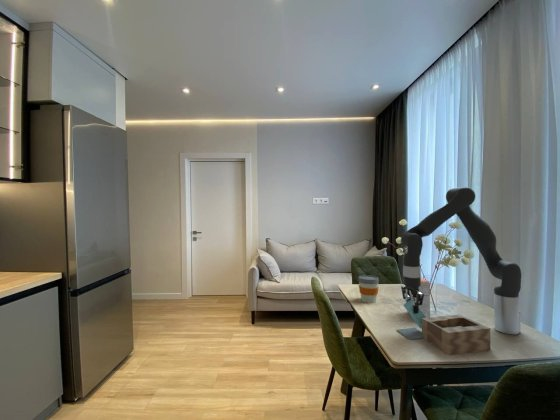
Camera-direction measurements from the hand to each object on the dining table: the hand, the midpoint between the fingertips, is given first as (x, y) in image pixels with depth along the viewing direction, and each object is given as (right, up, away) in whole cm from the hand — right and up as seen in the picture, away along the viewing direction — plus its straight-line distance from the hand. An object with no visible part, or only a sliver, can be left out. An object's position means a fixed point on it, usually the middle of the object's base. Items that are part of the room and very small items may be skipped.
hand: (412, 311), depth 135 cm
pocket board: (+14, -11, -10) cm, 20 cm away
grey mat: (0, -11, 0) cm, 11 cm away
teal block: (+1, -3, 0) cm, 3 cm away
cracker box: (+14, -11, +23) cm, 29 cm away
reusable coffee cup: (-5, -11, +50) cm, 51 cm away
